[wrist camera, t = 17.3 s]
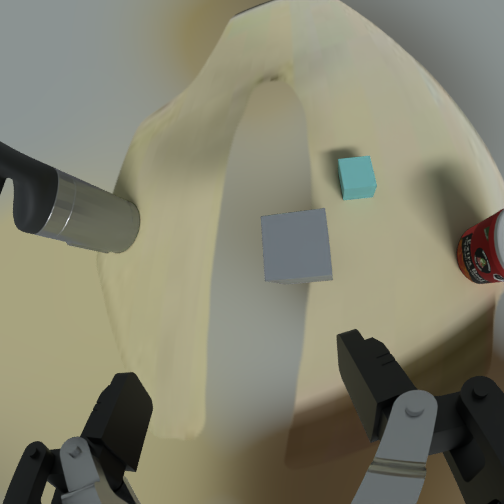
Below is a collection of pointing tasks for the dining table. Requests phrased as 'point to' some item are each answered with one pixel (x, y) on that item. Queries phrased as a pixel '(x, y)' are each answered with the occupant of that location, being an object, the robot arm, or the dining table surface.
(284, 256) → the tall grey pillar block
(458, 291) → the dining table surface
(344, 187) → the teal block
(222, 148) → the dining table surface
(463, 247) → the canned food
